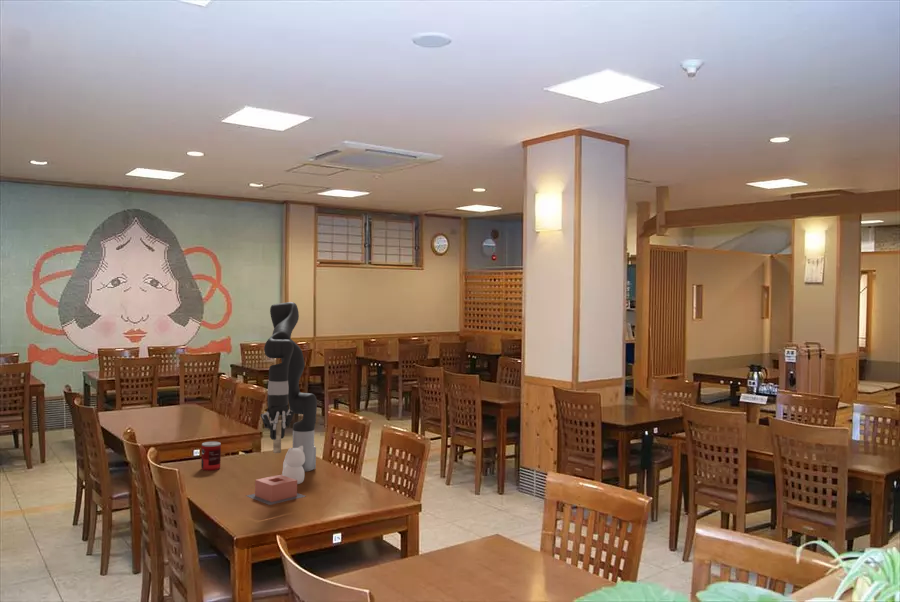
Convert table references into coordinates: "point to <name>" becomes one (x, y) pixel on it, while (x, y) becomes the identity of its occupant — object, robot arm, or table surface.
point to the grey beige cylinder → (277, 436)
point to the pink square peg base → (275, 488)
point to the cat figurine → (294, 464)
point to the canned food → (211, 456)
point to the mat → (274, 501)
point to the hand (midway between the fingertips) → (277, 438)
